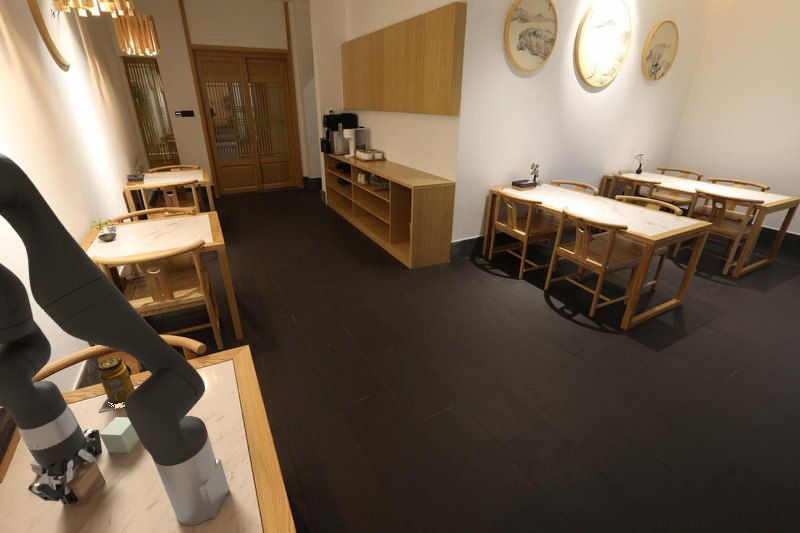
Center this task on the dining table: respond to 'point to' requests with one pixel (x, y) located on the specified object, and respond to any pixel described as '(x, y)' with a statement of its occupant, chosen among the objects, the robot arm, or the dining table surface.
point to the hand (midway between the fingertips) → (83, 488)
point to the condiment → (114, 382)
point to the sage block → (119, 435)
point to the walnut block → (86, 481)
